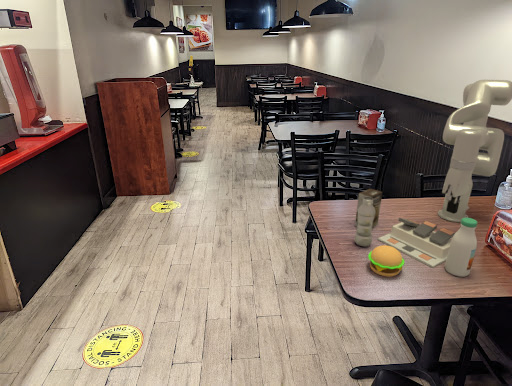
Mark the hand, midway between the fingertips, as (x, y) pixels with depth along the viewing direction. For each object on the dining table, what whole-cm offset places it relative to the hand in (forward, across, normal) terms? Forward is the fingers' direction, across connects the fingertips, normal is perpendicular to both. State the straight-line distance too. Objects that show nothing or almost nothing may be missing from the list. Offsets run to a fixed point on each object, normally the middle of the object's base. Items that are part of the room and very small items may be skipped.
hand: (451, 211), depth 128 cm
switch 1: (+10, +3, -14) cm, 17 cm away
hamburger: (+17, +30, -4) cm, 34 cm away
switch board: (+17, +6, -7) cm, 19 cm away
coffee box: (+17, +8, -30) cm, 36 cm away
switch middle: (+10, +3, -7) cm, 12 cm away
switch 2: (+10, +3, 0) cm, 10 cm away
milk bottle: (+17, +9, +10) cm, 22 cm away
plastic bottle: (+17, +22, -20) cm, 35 cm away
